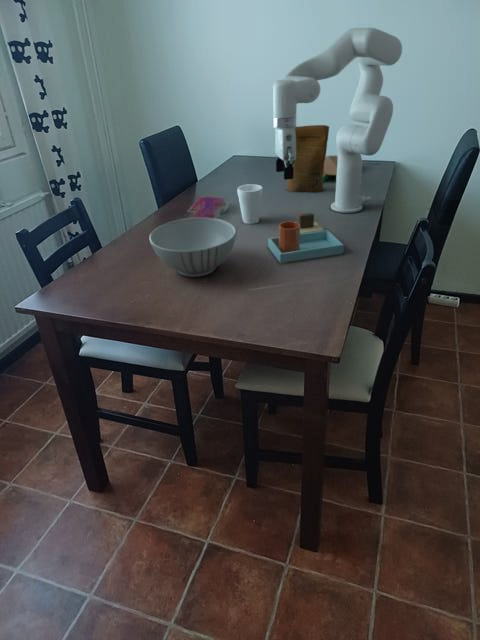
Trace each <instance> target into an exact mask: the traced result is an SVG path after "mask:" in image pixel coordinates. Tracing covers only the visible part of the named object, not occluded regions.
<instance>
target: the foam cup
mask: <svg viewBox="0 0 480 640" xmlns="http://www.w3.org/2000/svg"><path fill="white" fill-rule="evenodd" d="M236 188H237V189H236V191H237V192H236V193H237V196H238V200H239V207H240V212H241V218H242V222H243V223H244V224H247V225H254V224H257V223H259V222H260V216H261V208H262V199H263V192H264V191H263V186H262V185H260V184H257V183H256V184H255V183H254V184H253V183H247V184H242V185H240V186H238V187H236Z"/></svg>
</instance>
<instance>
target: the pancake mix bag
mask: <svg viewBox="0 0 480 640" xmlns="http://www.w3.org/2000/svg"><path fill="white" fill-rule="evenodd" d="M329 133H330V126H328V125H326V124H314V125H311V124H310V125H303V126H302V125H301V126H296V127H295V134H296V159H294V160H293V161H294V171H293V179H287V180H286V181H287V185H286V190H287V191H289V192H294V193H299V192H300V193H321V192H323V191H324V184H323V172H324V161H325V157H326V156H327V148H328V141H329ZM286 158H289V157H286ZM287 162H288V161H287Z"/></svg>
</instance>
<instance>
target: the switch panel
mask: <svg viewBox="0 0 480 640" xmlns="http://www.w3.org/2000/svg"><path fill="white" fill-rule="evenodd" d="M317 231H324V228H323V227H322V226H320V224H318V223H317V221H314V226H313V227H309V228H302V229H300V234H303V233H310V232H317Z"/></svg>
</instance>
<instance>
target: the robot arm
mask: <svg viewBox="0 0 480 640" xmlns="http://www.w3.org/2000/svg"><path fill="white" fill-rule="evenodd" d="M402 54H403V44H402V42H401V40H400V39H399V37H397V36H395V35H392V34H390V33H388V32H386V31H383V30H381V29H378V28H376V27H352V28H349V29H347V30H346V31H344V32H343V33H342V34H340V36H339V37H337V38H336V39H335V40H334V41H333V42H332V43H331V44H330V45H329V46H328V47H327V48H325V49H324V51H321V52H320V53H318V54H316V55H313V56H312V57H310V58H307V59H306V60H304V61H302V62H301V63H298V64H297V65H296V66H294V67H293V68H292V69H291V70H290V71H289V72H288V73H286V75H284V77H283V78H282V79H277V80H276V81H274V82H273V85H272V116H273V117H272V127H273V129H275V132H274V152H275V153H274V154H275V172H276V173H282V172H283V180H285V181H287V179H293V171H294V161H293V160H294V159H296V134H295V127H297V110H298V109H297V105H298V104H310V103H314V102H315V101H316V100H318V98H319V96H320V94H321V85H320V83H319V81H321V80H327V79H330V78H333V77H336V76H337V75H339V74H340V73H341V72H342V71H343V70H344V69H345V68H346V67H347V66H349V65H350V64H351V63H352V62H353V61H354V60H355V59H356V62H357V65H358V69H359V80H358V83H357V86H356V90H355V93H354V96H353V99H352V103H351V105H350V108H349V117H350V119H351V120H352V121H355V122H358V123H362V124H368V126H364V125H359V124H349V123H348V124H345V125H343V126H341V127H340V128H339V129H338V130H337V132H336V137H335V145H336V152H337V155H336V156H338V160H337V175H336V176H335V197H334V201H333V202H332V203H331V204H330V209H331V210H332V211H333V212H337V213H342V214H352V213H353V214H354V213H357V212H361V211H362V210H363V207H364V206H363V204H364V203H369V202H371V200H372V198H371V196H365V195H361V187H362V185H361V184H362V173H363V158H362V156H369V157H370V156H374V155H375V154H377V153H378V152H379V151H380V149H381V146H382V145H383V142H384V140H385V136H386V134H387V132H388V129H389V126H390V124H391V121H392V118H393V113H394V103H393V100H392V99H391V98H390V97H388V96H387V95H381V91H382V88H383V86H384V76H383V73H382V69H381V66H385V67H386V66H387V67H388V66H393V65H395V64H396V63H398V62H399V60H400V59H401V56H402ZM286 157H289V158H286ZM287 161H288V162H287Z"/></svg>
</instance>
